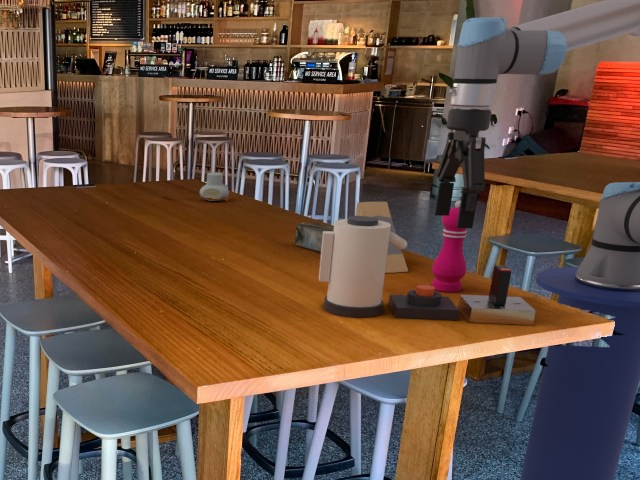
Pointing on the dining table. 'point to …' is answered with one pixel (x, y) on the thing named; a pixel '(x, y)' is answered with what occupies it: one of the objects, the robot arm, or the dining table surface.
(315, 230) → the beverage carton
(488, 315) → the lever switch base
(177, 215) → the dining table surface
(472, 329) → the dining table surface
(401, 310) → the push button box
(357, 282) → the kettle
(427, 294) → the red push button
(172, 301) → the dining table surface
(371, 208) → the sandwich container
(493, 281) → the black switch lever
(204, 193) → the air freshener
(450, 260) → the pepper mill
